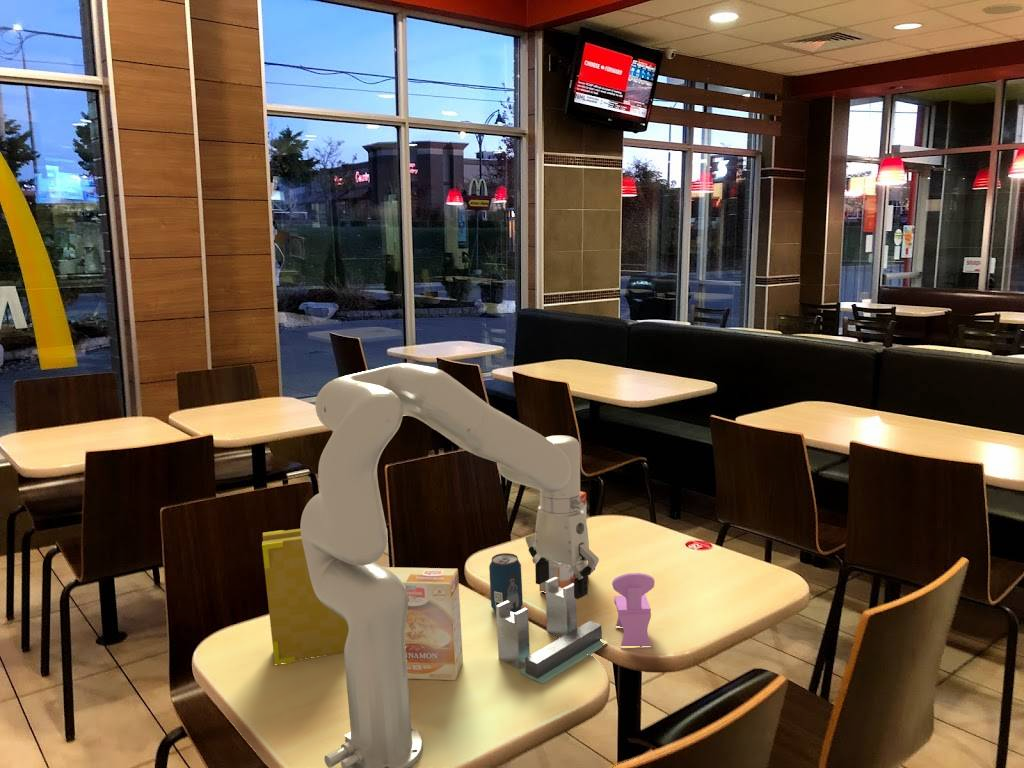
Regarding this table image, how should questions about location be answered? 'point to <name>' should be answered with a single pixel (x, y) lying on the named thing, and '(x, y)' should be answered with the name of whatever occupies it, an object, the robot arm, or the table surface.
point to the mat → (566, 663)
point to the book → (297, 603)
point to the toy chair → (633, 607)
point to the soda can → (506, 581)
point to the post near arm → (512, 634)
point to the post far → (560, 608)
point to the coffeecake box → (432, 622)
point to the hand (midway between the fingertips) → (561, 589)
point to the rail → (562, 649)
